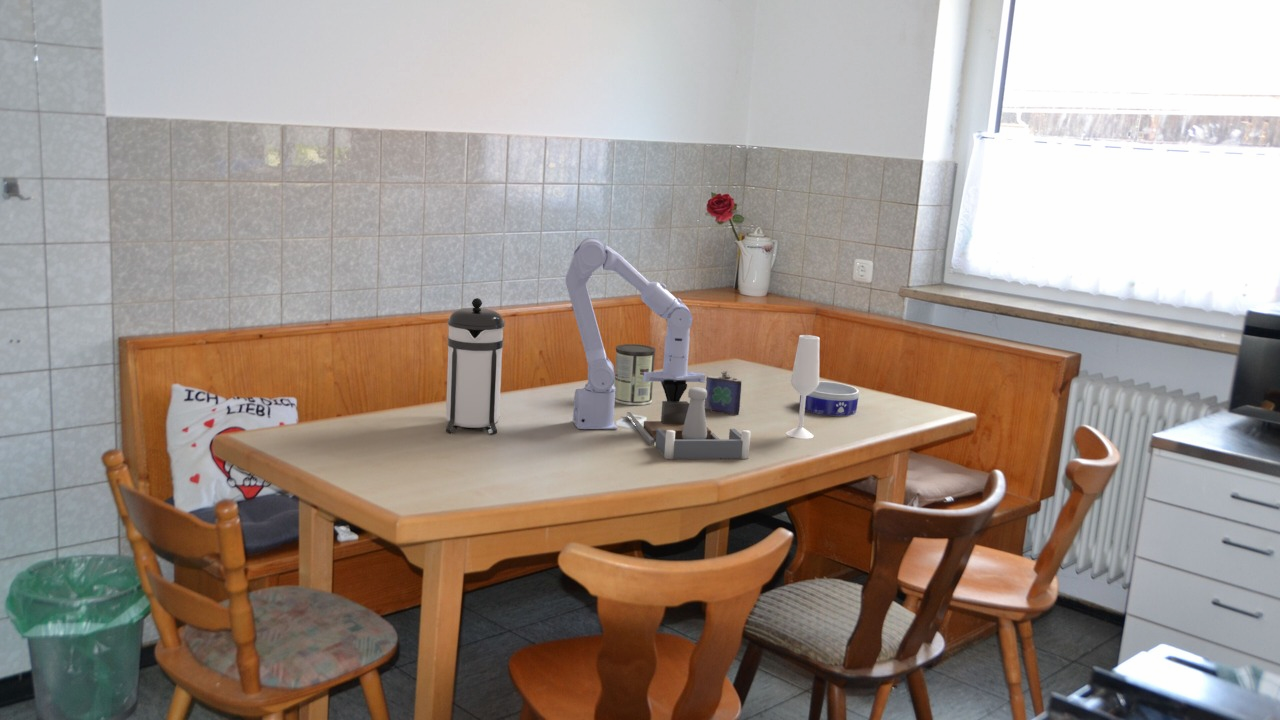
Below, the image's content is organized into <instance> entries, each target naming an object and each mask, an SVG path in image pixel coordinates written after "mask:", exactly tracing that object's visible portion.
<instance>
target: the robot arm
mask: <svg viewBox="0 0 1280 720" xmlns="http://www.w3.org/2000/svg"><path fill="white" fill-rule="evenodd" d="M570 261H571V262H570V264H569V266H568V270H567V273H566V275H565V284H566V289H567V293H568V296H569V300H570V302H571V306H572V310H573V313H574V314H573V315H574V317H575V321H576V325H577V328H578V331H579V335H580V338H581V342H582V346H583V350H584V353H585V358H586V363H587V383H585V385H584V388H576V389H575V391H574V400H573V414H572V417H573V418H572V421H573V423H574V425H575V426H576V428H577V429H578V430H618V426H617V424H616V423H615V422H614V416H615V403H616V402H615V389H616V388H615V386H614V382H615V367H614V364H613V362H612V361H611V360H610V359H609V358H608V356H607V352H606V350H605V347H604V346H605V345H604V343H603V341H602V340H603V339H602V336H601V332H600V329H599V325H598V322H597V318H596V314H595V311H594V307H593V303H592V299H591V297H590V292H589V288H588V284H587V283H588V281H589V279H590V278H591V276H592V275H593V273H594V272H595V271H597V270H598V269H599V268H600V267H602V269H603V270H605V271H610V272H611V271H612V272H615V273H617V274H618V275H619V276H621V277H622V278H623V279H624V280H626V282H628V283H629V284H630V285H631V286H633V288H635V289H636V290H638V291H639V292H640V299H641V301H642V303H644V304H645V305H646V306H647V307H648V308H649V309H651V311H653V312H654V313H655V314H656V315H657V316H659V317H660V318H662V319H665V320H666V322H667V325H666V334H665V337H664V349H663V350H664V351H663V352H664V353H663V364H662V366H663V367H662V370H660V371H654V372H644V381H645V382H650V381H653V382H660V383H661V386H662V388H663V391H664V395H665V398H666V401H681V399H682V396H683V395H684V393H685V392H686V390H687V388H688V384H687V382H688V383H703V384H704V383H706V382H705V381H706V374H705V373H703V372H691V371H690V372H689V371H688V363H689V351H690V339H691V337H690V334H691V333H690V332H691V327H692V325H693V322H694V319H693V314H692V313H691V311H690V309H689V308H688V306H687V305H686V304H685V303H684V302H682V299H681V298H680V297H678V298H677V297H676V296H675V295H674V294H672V293H671V292H670V291H669V290H668V288H667V285H666V284H664V282H662V283H660V282H658V281H649V280H647V278H646V277H645V276H643V274H641V273H640V272H639V271H638V270H637V269H636V268H635V267H634V266H633V265H632V264H630V262H629V261H627V260H626V258H624V257H623V256H622V255H621V254H620V253H619V252H617V251H615V250H614V249H613V248H611V247H610V246H608V245H607V244H606V245H604V243H603V242H602V241H601V239H598V238H596V237H587V238H585V239H583V240H582V241H581V242H580V244H579V245H578V246H577V247H576V249H575V250H574V251H573V255H572V258H571V260H570Z"/></svg>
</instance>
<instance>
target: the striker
mask: <svg viewBox="0 0 1280 720" xmlns="http://www.w3.org/2000/svg"><path fill="white" fill-rule="evenodd" d="M689 403H690V402H688V400H687V401H685V400H684V401H681V400H680V401H667V400H665V401H664V400H663V401H662V403H661V413H660V414H661V415H660V420H654V421H653V420H652V421H651V420H649V421H646V420H644V421H643V427H644V429H645V430H646V431H647V432H648V433H649V434H650V435H651V437H652V438H653V439H654V440H656V433H657V429H663V430H664V431H665V432H666V431H667V430H673V431H675V439H683V437H682V430H683V426H684V423H685V419H686V415H687V411H688V407H689ZM706 427H707V437H706V439H710V435H711V432H712V430H711V429H710V428H709V427H708V426H706Z"/></svg>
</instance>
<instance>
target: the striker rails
mask: <svg viewBox="0 0 1280 720" xmlns="http://www.w3.org/2000/svg"><path fill="white" fill-rule="evenodd" d="M626 416H629V417H631V418H632V420H633V422H634V423H635V425H636V427H635V429H637V431H638V432H639V433H640V434H641V436H642V437H643V438H644V439H645V440H646V442H647V443H648V444H649V445H650V446H655V443H656V439H653V438H652V437H651V435H650V434H649V433H648V432H647V431H646V430H645V429H644V425H642V424H641V423H640V422H639V421H638V419H637V418H636V417H635V416H634V415H633V414H632V412H631V411H626ZM710 439H720V438H719V437H718V436H717V435H716V434H715V433H714V432H713V431H711V435H710Z"/></svg>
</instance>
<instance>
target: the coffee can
mask: <svg viewBox="0 0 1280 720" xmlns="http://www.w3.org/2000/svg"><path fill="white" fill-rule="evenodd" d="M656 351H657V350H656V348H655V347H653V346H650V345H645V344H639V343H638V344H636V343H635V344H633V343H625V344H619V345H616V347H615V363H614V364H615V367H614V374H615V382H614V384H613V386H615V388H616V389H615V403H617V404H621V405H625V406H626V405H627V406H645V405H650V404H651V403H652V402H653V387H654V386H653V385H654V381H650V382H645V381H644V372H655V370H654V369H655V359H656V358H655V354H656Z"/></svg>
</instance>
